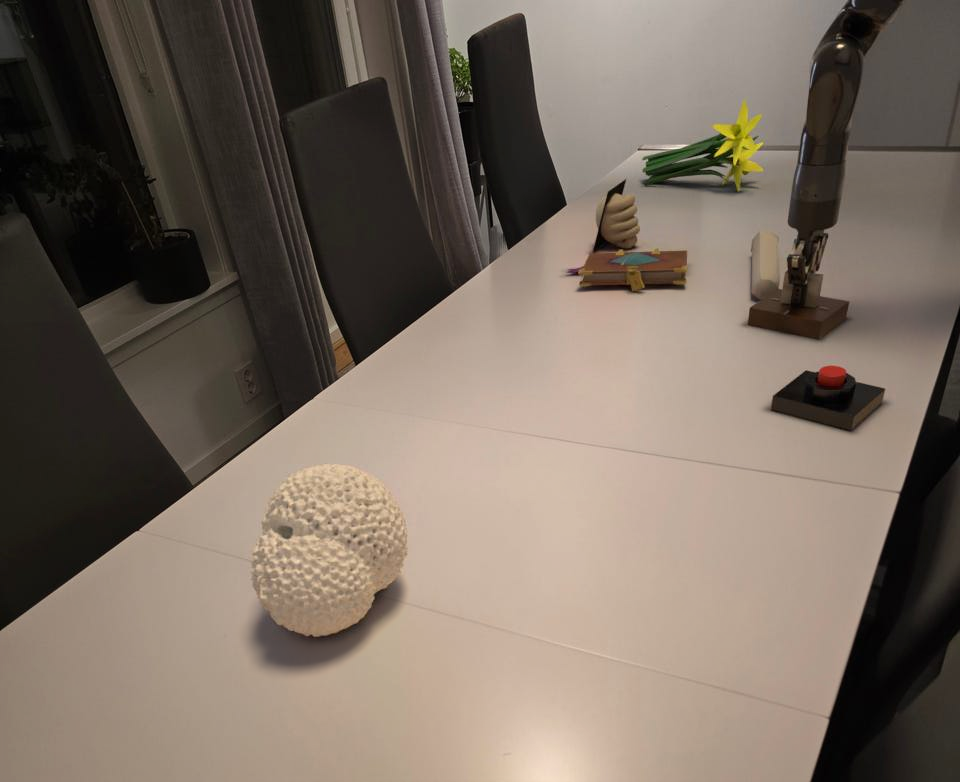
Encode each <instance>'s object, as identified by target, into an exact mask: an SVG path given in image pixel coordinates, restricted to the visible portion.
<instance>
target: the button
mask: <svg viewBox="0 0 960 782" xmlns="http://www.w3.org/2000/svg"><path fill="white" fill-rule="evenodd" d="M818 371H819V374H818V380H817V383H818V384H820V385H823V386H827V387H838V386H842V385H844V382H845V377H846V373H847V369H845V368H844V367H842V366H838V365H825V366H822V367H821V368H819V370H818Z"/></svg>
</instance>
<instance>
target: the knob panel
mask: <svg viewBox="0 0 960 782" xmlns="http://www.w3.org/2000/svg"><path fill="white" fill-rule="evenodd" d="M781 296H782V289H781V288H779V289H777V290H776V291H774V292H773V293H771V294H770V295H768V296H767V297H765V298H764V299H762V300H759V301H758V302H755V303H754V304H753V305H751V306H750V307H749V310H748V319H747V325H749V326H753V327H758V328H763V329H766V330H767V329H768V330H772V331H777V332H781V333H786V334H792V335H796V336H801V337H806V338H811V339H815V340H820V339H821V338H822V337H824V336H825V335H827V334H828V333H829V332H831V331H832V330H834V329H835V328H836V327H837V326H839V325H840V324H841V323H843V322H844V321H846V319H847V317H848V312H849V307H850V301H849V300H844V299H838V298H832V297H826V296H823V295H822V296H821V295H820V299H819V305H818V306H817V307H815V308H812V307H805V306H803V307H802V308H796V307H791V305H790V304H784V303H781Z"/></svg>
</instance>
